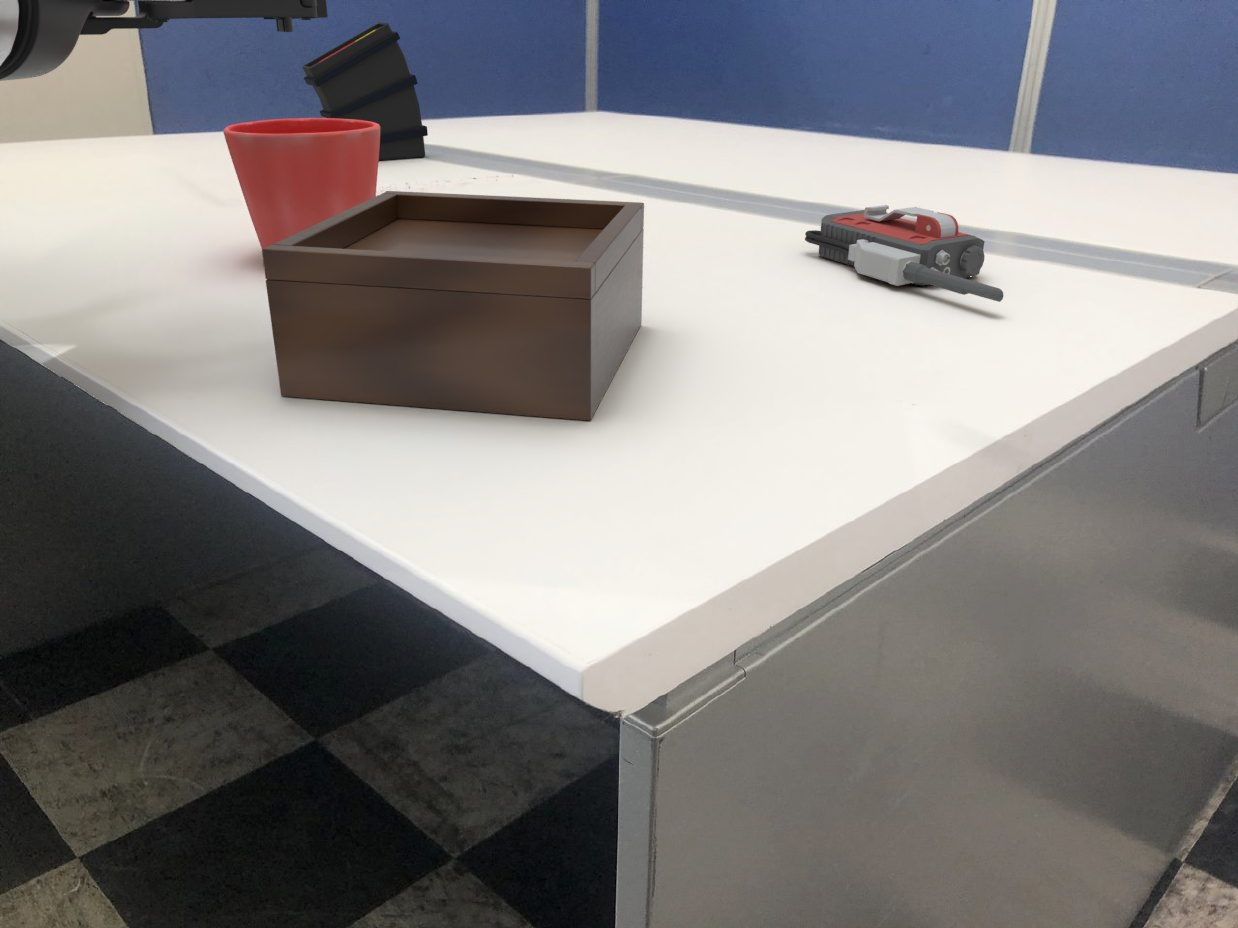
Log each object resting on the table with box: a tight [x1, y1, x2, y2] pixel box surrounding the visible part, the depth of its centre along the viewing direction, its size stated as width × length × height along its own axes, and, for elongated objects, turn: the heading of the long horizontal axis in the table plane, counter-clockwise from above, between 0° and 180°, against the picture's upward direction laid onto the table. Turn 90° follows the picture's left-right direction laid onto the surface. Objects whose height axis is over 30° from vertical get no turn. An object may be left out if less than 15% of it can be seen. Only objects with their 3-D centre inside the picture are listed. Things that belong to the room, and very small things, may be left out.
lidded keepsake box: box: [261, 190, 645, 421], centre depth 56 cm, size 16×16×8 cm
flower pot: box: [223, 117, 380, 250], centre depth 76 cm, size 11×11×10 cm
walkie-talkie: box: [804, 204, 1004, 303], centre depth 74 cm, size 9×4×20 cm
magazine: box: [301, 21, 429, 161], centre depth 121 cm, size 4×13×15 cm, turn 123°
